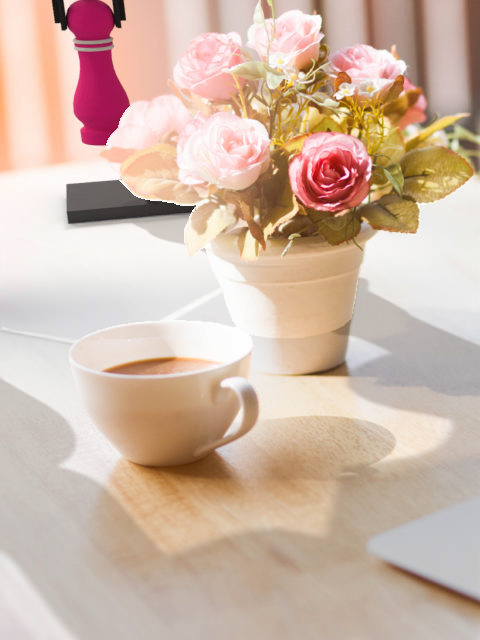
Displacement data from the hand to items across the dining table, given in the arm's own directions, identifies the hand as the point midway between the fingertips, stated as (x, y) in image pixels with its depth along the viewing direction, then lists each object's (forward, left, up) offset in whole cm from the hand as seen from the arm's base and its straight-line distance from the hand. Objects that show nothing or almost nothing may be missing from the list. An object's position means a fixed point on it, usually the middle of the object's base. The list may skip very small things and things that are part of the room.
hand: (91, 26), depth 153 cm
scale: (+2, -2, -23) cm, 24 cm away
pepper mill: (0, 0, -15) cm, 15 cm away
